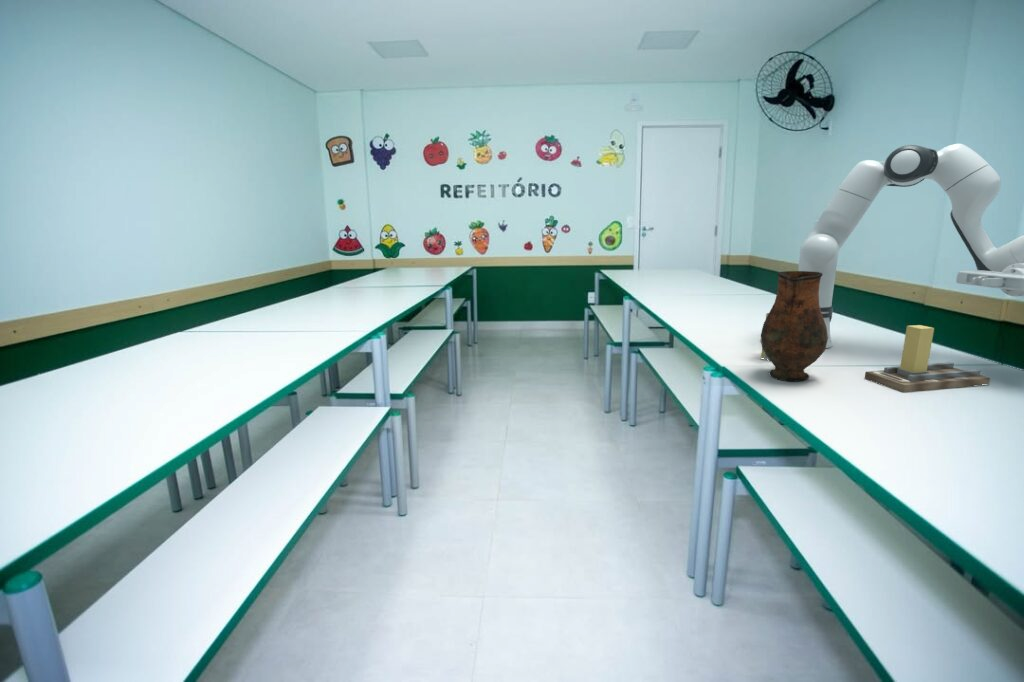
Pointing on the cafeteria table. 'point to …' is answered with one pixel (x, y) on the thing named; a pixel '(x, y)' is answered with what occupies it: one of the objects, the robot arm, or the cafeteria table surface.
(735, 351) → the cafeteria table surface
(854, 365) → the cafeteria table surface
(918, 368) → the slider tab
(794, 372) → the brown vase
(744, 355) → the cafeteria table surface
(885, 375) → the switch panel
